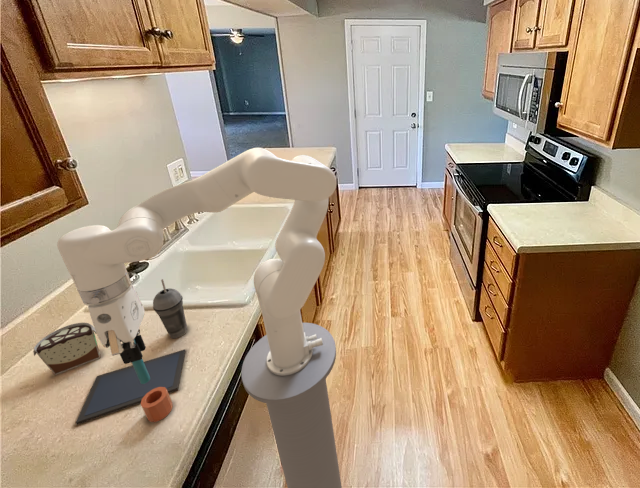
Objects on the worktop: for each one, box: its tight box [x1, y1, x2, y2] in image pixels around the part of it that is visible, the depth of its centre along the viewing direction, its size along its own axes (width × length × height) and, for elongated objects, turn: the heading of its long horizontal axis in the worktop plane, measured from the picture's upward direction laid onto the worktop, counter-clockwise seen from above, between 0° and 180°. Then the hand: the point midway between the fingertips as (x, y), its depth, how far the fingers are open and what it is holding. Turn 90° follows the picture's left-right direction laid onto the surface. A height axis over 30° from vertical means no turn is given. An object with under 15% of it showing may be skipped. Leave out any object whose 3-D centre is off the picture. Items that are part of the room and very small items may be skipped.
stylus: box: [121, 340, 150, 384], centre depth 71 cm, size 2×2×13 cm
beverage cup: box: [152, 278, 188, 339], centre depth 97 cm, size 7×7×20 cm
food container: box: [32, 322, 101, 376], centre depth 90 cm, size 12×6×10 cm, turn 125°
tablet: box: [75, 349, 187, 425], centre depth 84 cm, size 20×13×1 cm, turn 114°
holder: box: [140, 387, 174, 423], centre depth 77 cm, size 5×5×5 cm
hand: (135, 355), depth 71 cm, fingers closed on stylus, 1 cm apart
